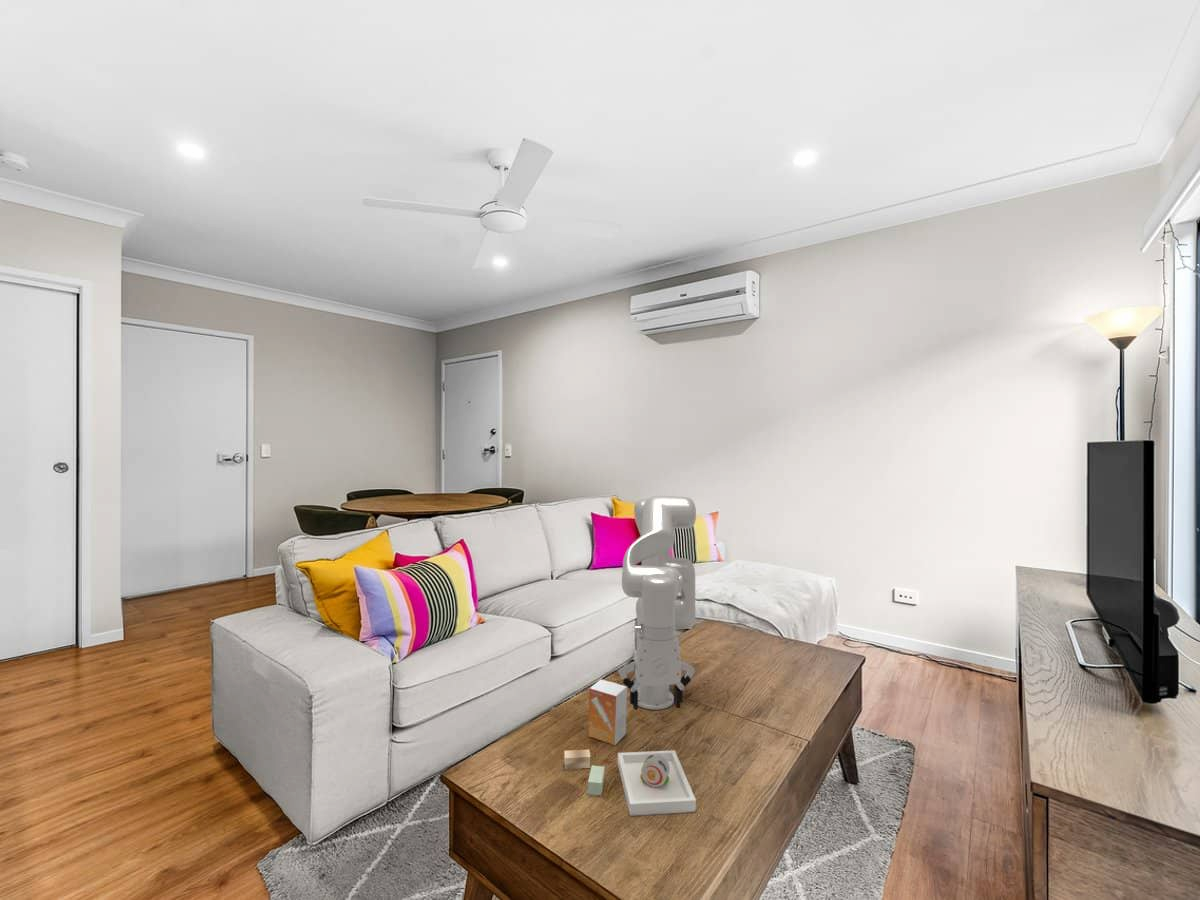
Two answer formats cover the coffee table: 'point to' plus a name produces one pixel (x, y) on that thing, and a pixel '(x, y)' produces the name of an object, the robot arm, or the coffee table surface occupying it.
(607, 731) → the small box
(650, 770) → the roller toy
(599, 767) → the sage block
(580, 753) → the maple block
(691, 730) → the coffee table surface
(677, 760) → the tray
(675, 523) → the robot arm
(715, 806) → the coffee table surface
